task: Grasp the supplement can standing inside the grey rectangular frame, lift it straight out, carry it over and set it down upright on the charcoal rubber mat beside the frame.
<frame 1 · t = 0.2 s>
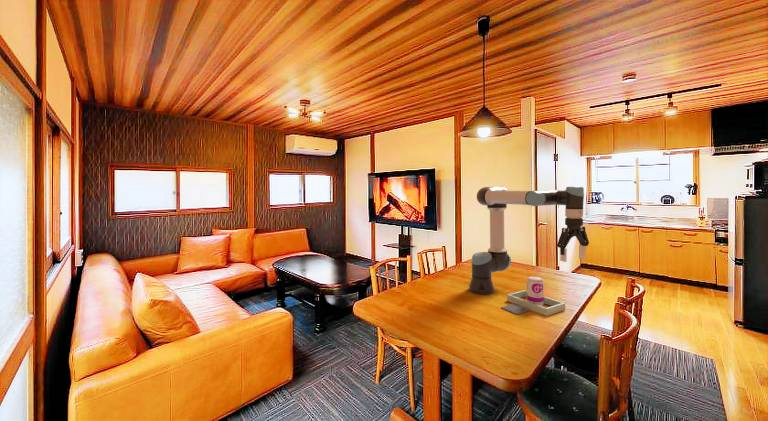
hand: (572, 259, 152), 27 cm above the table, fingers open, 13 cm apart
grey rectangular frame: (534, 305, 165), on the table
supplement can: (534, 305, 165), resting in grey rectangular frame
mat: (515, 309, 160), on the table
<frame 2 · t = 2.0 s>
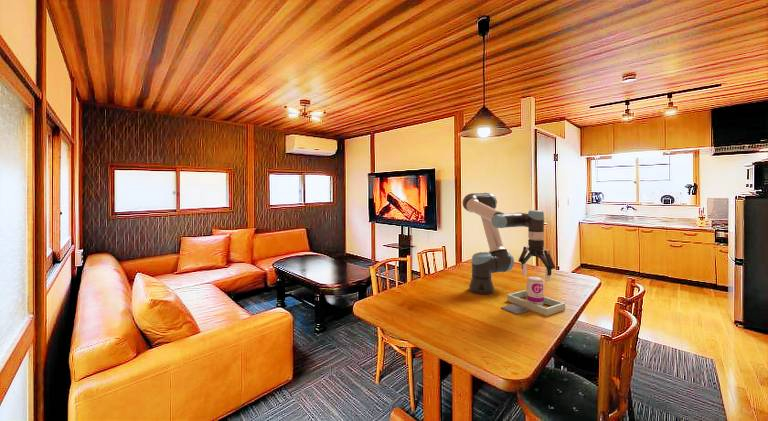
hand: (535, 278, 164), 15 cm above the table, fingers open, 13 cm apart
nothing on the table moved.
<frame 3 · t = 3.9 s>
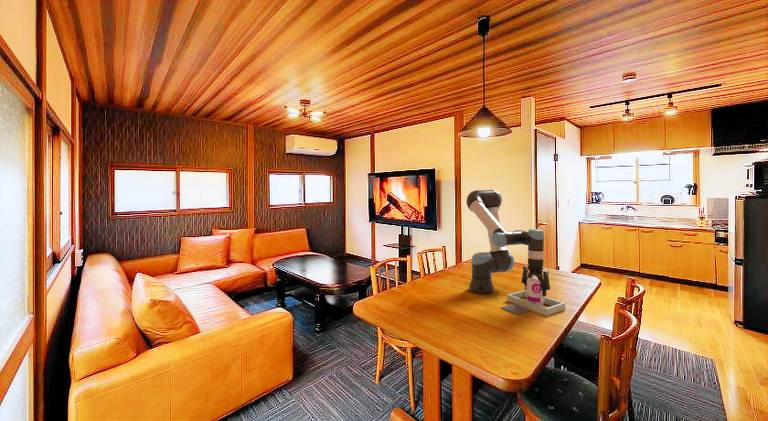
hand: (535, 299, 165), 3 cm above the table, fingers closed on supplement can, 8 cm apart
supplement can: (534, 305, 165), resting in grey rectangular frame, touching gripper
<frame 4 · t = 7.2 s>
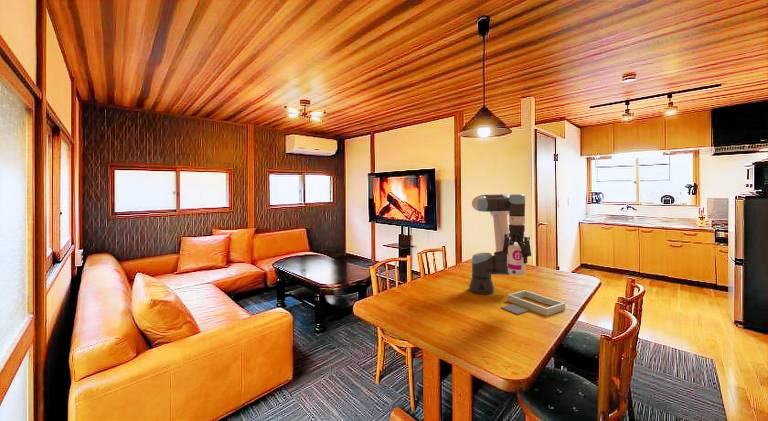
hand: (516, 267, 158), 23 cm above the table, fingers closed on supplement can, 8 cm apart
supplement can: (516, 274, 158), point 19 cm above the table, touching gripper
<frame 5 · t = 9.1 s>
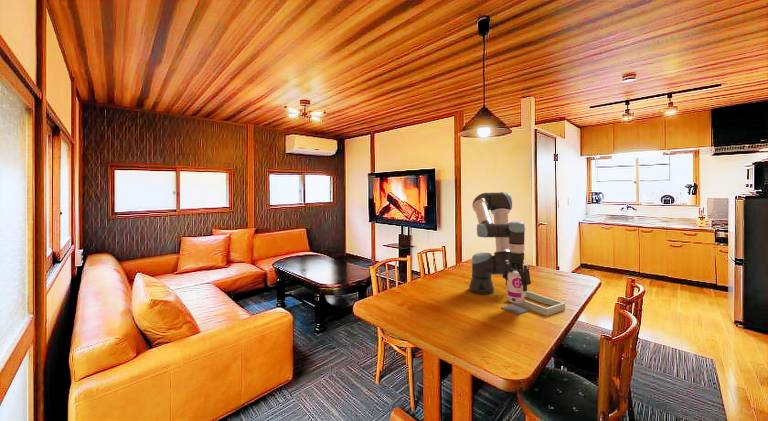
hand: (516, 294, 159), 8 cm above the table, fingers closed on supplement can, 8 cm apart
supplement can: (515, 301, 159), point 5 cm above the table, touching gripper
when the fingers open (4 cm above the table, at t = 10.7 s): supplement can stays where it is, resting on mat.
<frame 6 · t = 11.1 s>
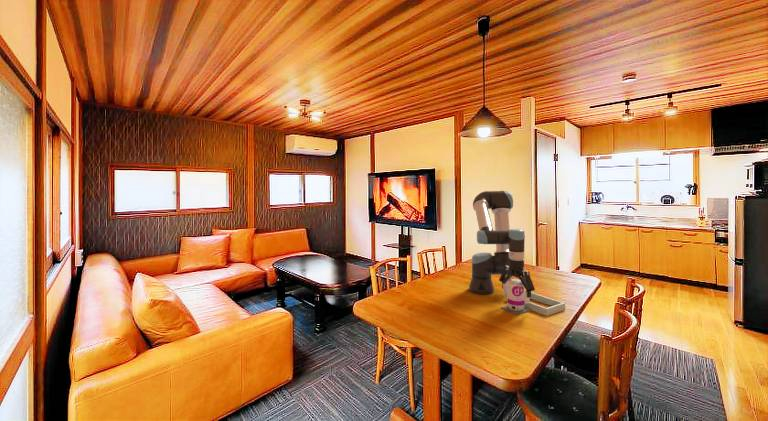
hand: (515, 299, 159), 6 cm above the table, fingers open, 13 cm apart
supplement can: (515, 308, 160), resting on mat
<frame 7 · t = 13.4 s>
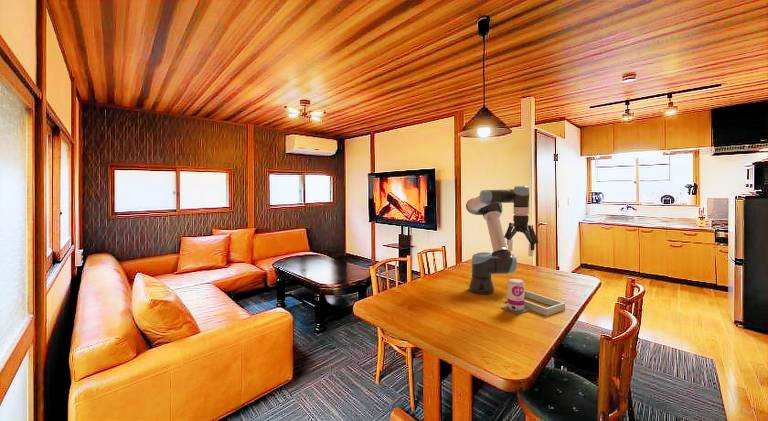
hand: (520, 253, 165), 28 cm above the table, fingers open, 13 cm apart
nothing on the table moved.
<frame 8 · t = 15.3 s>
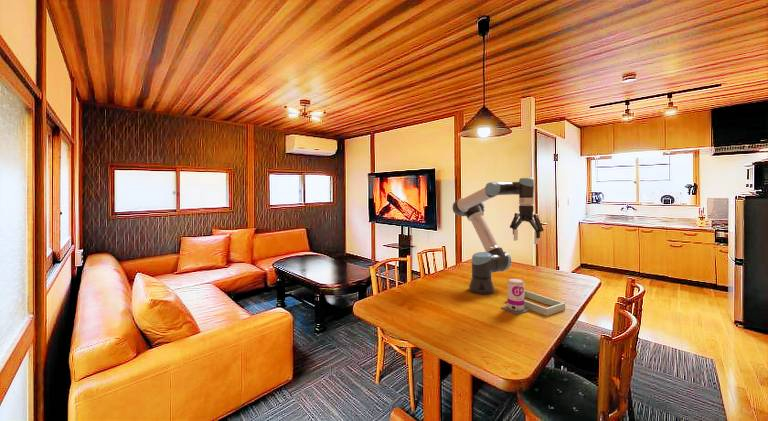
hand: (525, 242, 174), 33 cm above the table, fingers open, 13 cm apart
nothing on the table moved.
at the end: supplement can inside the target area on the mat (0.1 cm from its centre), point 0.4 cm above the mat's base; supplement can tilted 0°; the gripper is holding nothing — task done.
